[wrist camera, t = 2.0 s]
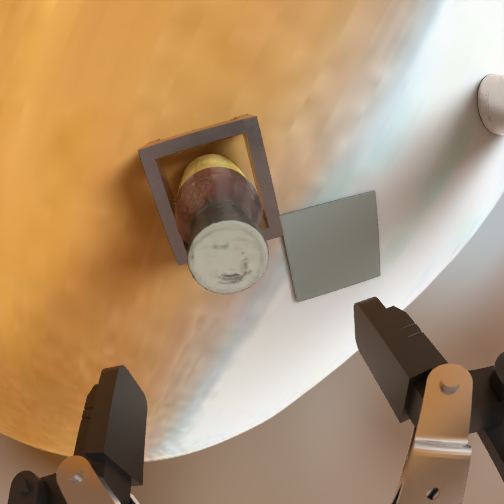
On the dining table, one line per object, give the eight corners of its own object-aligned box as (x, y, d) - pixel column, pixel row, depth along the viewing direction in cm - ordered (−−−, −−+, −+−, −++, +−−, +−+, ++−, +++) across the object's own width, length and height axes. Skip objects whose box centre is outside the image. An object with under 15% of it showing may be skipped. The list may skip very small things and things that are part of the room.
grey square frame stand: (247, 114, 31) (256, 116, 26) (271, 214, 36) (283, 235, 31) (148, 142, 31) (137, 150, 25) (181, 240, 36) (178, 265, 31)
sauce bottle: (224, 217, 36) (251, 336, 18) (172, 194, 34) (143, 300, 16) (252, 163, 34) (313, 237, 16) (198, 138, 32) (193, 182, 14)
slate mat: (373, 190, 37) (375, 191, 36) (379, 274, 42) (380, 275, 42) (278, 215, 36) (279, 216, 36) (296, 300, 42) (297, 302, 41)
